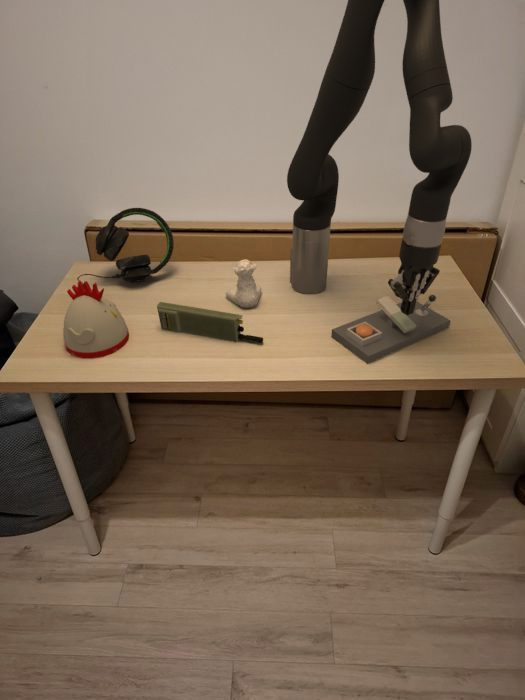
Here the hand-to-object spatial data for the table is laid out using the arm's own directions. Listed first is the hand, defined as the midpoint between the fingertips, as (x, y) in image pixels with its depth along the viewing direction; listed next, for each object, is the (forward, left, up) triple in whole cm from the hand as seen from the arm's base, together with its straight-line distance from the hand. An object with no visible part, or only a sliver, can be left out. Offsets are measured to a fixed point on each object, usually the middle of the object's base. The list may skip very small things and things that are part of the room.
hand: (406, 312), depth 104 cm
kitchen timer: (-37, -58, -7) cm, 69 cm away
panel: (-3, 0, -7) cm, 7 cm away
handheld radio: (-25, -35, -7) cm, 44 cm away
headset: (-60, -42, -7) cm, 73 cm away
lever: (-3, +9, -4) cm, 11 cm away
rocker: (-3, 0, -3) cm, 4 cm away
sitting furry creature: (-33, -21, -7) cm, 40 cm away
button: (-3, -9, -5) cm, 10 cm away
